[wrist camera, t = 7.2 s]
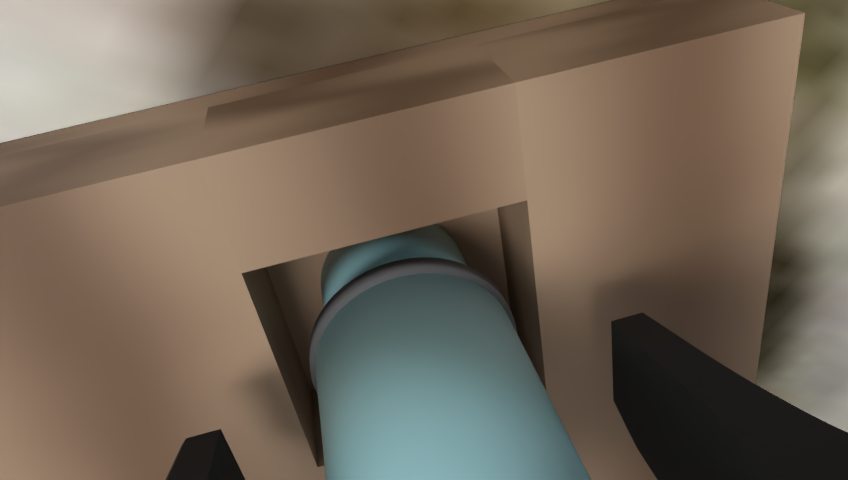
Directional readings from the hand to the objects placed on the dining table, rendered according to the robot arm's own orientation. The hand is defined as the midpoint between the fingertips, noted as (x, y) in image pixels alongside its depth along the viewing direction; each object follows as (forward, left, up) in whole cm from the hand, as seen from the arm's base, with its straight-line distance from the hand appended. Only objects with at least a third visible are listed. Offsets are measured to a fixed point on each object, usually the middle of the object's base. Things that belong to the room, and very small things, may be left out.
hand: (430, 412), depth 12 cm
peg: (0, 0, -4) cm, 4 cm away
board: (-1, -2, -5) cm, 6 cm away
